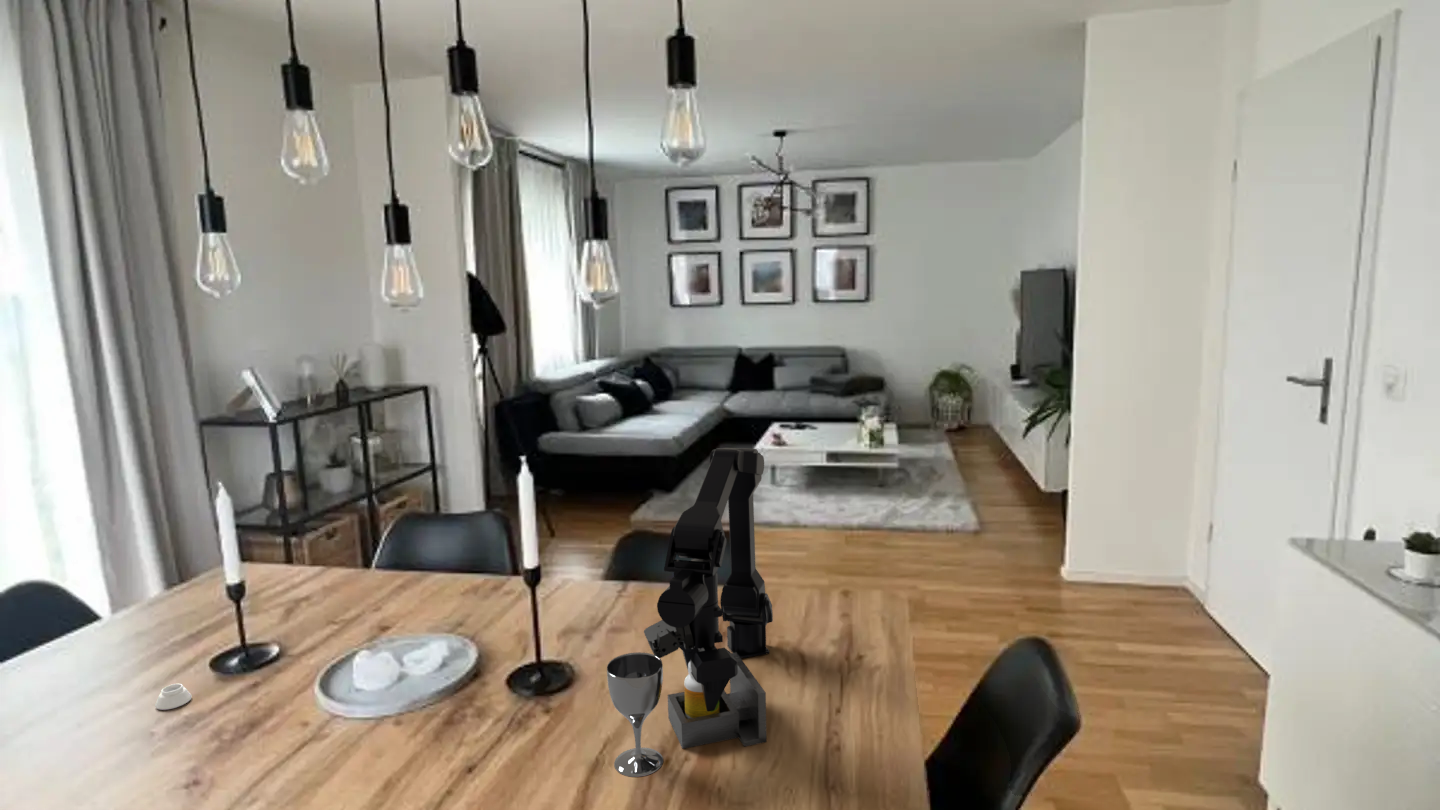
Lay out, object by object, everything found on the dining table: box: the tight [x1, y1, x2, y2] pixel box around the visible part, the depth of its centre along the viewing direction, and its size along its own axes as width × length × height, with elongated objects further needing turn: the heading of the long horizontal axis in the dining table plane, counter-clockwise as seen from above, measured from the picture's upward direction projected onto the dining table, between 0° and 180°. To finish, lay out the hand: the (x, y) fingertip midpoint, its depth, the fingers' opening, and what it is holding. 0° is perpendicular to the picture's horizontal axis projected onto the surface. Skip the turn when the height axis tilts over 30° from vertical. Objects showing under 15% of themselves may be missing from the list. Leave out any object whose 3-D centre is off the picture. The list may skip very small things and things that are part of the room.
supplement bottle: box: [683, 662, 720, 719], centre depth 121 cm, size 5×5×10 cm
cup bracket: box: [667, 652, 767, 750], centre depth 121 cm, size 12×14×8 cm
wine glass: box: [606, 652, 664, 778], centre depth 112 cm, size 8×8×15 cm
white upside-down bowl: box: [154, 683, 192, 711], centre depth 133 cm, size 5×3×5 cm
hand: (702, 695), depth 121 cm, fingers open, 9 cm apart
